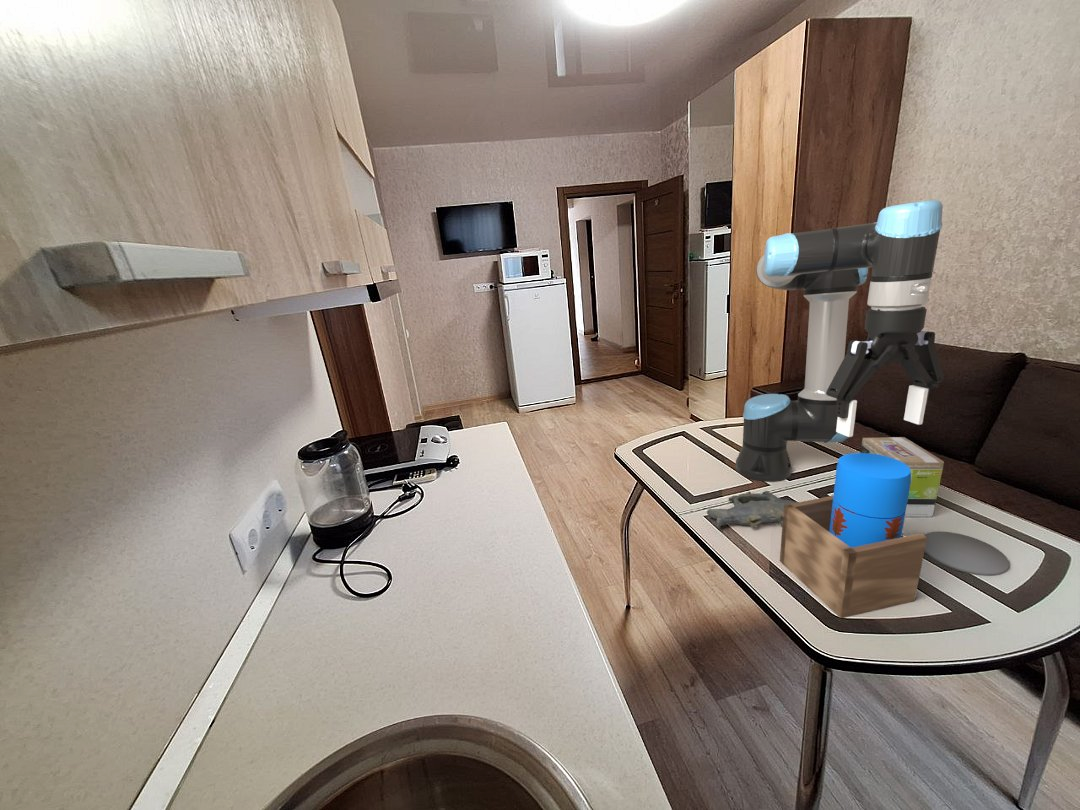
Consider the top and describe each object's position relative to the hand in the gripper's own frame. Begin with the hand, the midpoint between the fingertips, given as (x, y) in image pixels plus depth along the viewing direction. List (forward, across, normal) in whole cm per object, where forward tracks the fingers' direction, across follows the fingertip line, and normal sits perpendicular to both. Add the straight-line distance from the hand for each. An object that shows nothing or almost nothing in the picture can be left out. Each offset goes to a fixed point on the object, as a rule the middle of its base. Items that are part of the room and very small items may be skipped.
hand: (878, 428), depth 74 cm
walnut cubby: (+32, -4, 0) cm, 32 cm away
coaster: (+32, +24, 0) cm, 40 cm away
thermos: (+32, 0, 0) cm, 33 cm away
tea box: (+32, +29, +20) cm, 48 cm away
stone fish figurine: (+33, -5, +25) cm, 42 cm away
